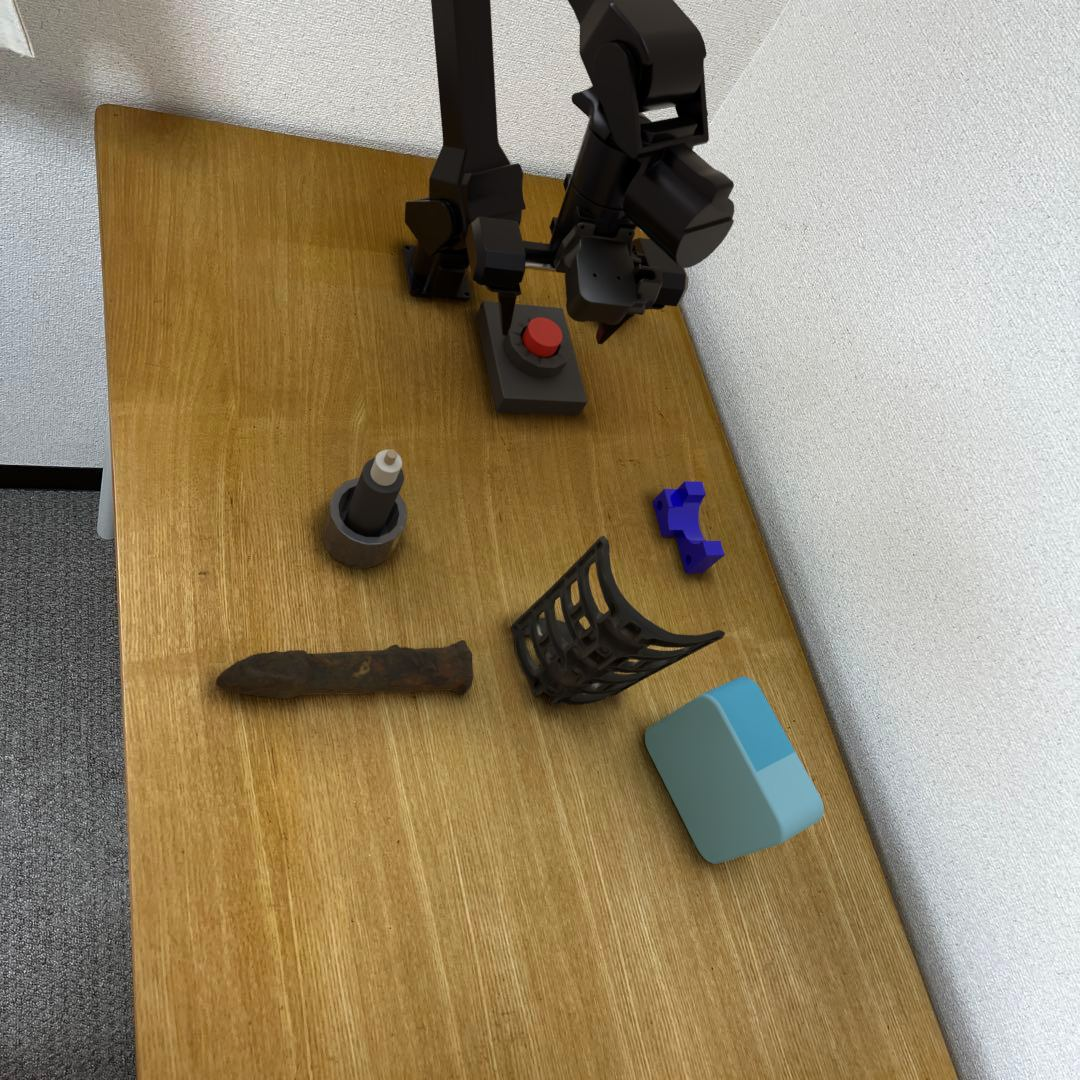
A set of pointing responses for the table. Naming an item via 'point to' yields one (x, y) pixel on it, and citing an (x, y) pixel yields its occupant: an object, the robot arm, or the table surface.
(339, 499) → the iron cup
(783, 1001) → the table surface
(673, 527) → the cable holder
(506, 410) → the switch box
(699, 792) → the data package
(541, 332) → the power button
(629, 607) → the holder
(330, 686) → the hand tool
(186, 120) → the table surface
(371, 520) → the capped grey cylinder
